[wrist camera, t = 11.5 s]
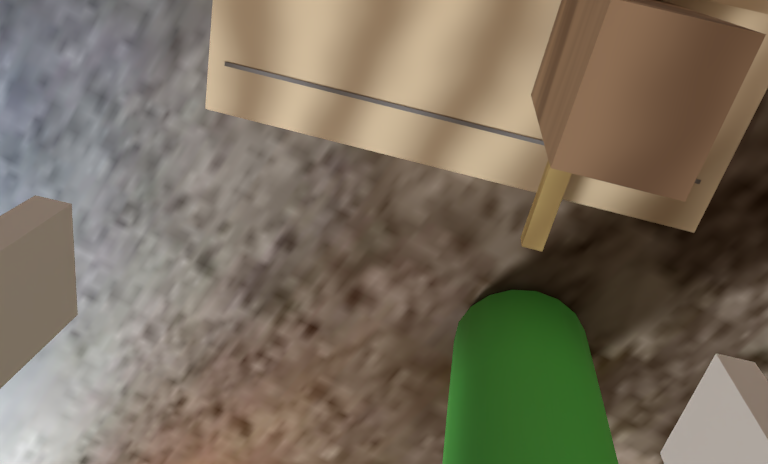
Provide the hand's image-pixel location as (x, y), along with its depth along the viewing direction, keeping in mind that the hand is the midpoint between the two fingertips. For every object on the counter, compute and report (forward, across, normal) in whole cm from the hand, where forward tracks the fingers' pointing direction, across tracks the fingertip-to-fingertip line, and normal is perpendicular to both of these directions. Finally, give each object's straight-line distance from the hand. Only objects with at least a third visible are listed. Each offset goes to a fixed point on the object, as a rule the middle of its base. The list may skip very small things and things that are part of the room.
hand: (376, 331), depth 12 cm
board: (+25, +2, +2) cm, 25 cm away
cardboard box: (+23, +8, 0) cm, 25 cm away
